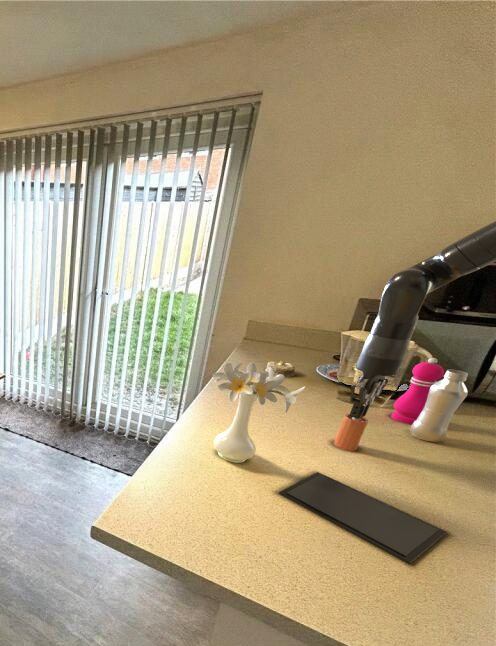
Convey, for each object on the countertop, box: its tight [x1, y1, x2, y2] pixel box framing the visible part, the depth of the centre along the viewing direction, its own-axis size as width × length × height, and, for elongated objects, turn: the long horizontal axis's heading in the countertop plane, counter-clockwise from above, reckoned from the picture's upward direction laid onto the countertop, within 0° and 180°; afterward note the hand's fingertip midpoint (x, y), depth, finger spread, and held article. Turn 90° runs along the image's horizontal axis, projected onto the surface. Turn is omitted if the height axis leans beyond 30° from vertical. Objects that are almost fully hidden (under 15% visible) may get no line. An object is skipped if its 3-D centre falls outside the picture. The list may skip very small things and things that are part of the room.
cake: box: [264, 360, 296, 378], centre depth 153 cm, size 10×10×5 cm
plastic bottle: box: [409, 368, 469, 443], centre depth 104 cm, size 6×7×20 cm
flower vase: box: [211, 362, 307, 464], centre depth 97 cm, size 13×18×25 cm
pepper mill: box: [391, 357, 445, 425], centre depth 114 cm, size 7×7×20 cm
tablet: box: [278, 471, 448, 565], centre depth 82 cm, size 22×16×1 cm
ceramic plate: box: [316, 363, 408, 392], centre depth 144 cm, size 26×26×3 cm
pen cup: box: [333, 413, 369, 452], centre depth 103 cm, size 5×5×9 cm
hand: (357, 416), depth 101 cm, fingers closed
